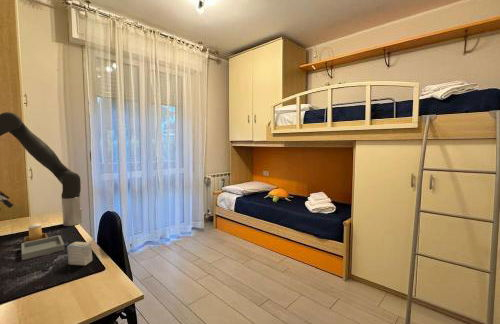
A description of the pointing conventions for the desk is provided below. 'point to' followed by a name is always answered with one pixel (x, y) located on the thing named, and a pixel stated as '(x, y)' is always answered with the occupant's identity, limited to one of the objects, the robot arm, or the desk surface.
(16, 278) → the desk surface
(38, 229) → the pill bottle
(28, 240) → the holder
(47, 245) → the tray
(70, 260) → the medicine box
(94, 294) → the desk surface
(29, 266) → the desk surface
